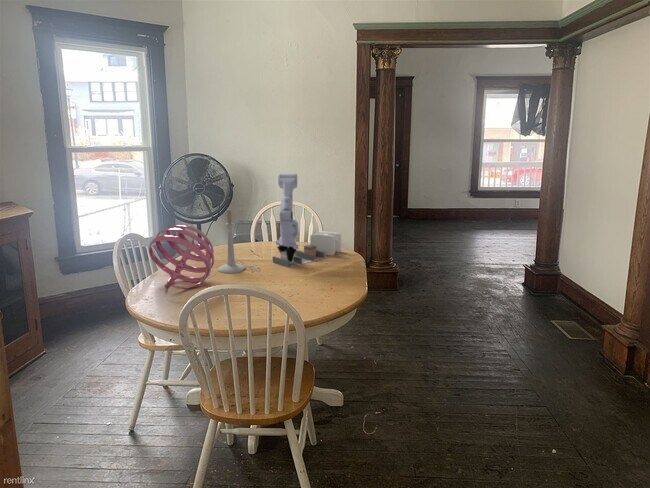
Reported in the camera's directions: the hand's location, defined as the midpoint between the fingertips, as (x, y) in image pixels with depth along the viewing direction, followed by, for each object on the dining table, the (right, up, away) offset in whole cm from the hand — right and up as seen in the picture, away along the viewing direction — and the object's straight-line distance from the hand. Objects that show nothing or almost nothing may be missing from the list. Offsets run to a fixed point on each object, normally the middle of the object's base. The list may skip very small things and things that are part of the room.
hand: (287, 260), depth 251 cm
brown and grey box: (+11, +1, +11) cm, 16 cm away
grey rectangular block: (0, -1, 0) cm, 1 cm away
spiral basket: (-42, -10, -30) cm, 53 cm away
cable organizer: (+19, +3, +22) cm, 30 cm away
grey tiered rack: (+6, -1, +6) cm, 8 cm away
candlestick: (-26, -4, -8) cm, 28 cm away
